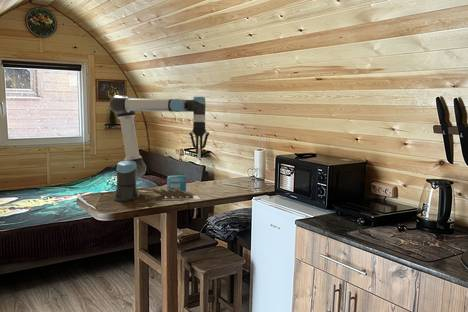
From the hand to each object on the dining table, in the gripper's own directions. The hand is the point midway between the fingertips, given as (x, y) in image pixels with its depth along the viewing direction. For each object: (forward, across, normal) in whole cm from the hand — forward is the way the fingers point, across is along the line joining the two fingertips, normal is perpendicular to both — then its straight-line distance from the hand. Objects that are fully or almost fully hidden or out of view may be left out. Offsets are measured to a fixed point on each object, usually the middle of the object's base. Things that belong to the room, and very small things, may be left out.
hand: (198, 158), depth 268 cm
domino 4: (+24, -8, 0) cm, 25 cm away
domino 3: (+24, -13, 0) cm, 27 cm away
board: (+26, -12, 0) cm, 28 cm away
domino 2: (+24, -18, 0) cm, 29 cm away
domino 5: (+24, -4, 0) cm, 24 cm away
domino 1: (+24, -22, 0) cm, 32 cm away
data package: (+26, -12, +18) cm, 34 cm away
